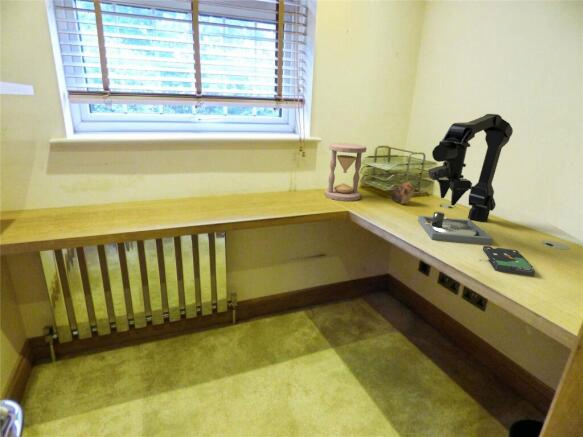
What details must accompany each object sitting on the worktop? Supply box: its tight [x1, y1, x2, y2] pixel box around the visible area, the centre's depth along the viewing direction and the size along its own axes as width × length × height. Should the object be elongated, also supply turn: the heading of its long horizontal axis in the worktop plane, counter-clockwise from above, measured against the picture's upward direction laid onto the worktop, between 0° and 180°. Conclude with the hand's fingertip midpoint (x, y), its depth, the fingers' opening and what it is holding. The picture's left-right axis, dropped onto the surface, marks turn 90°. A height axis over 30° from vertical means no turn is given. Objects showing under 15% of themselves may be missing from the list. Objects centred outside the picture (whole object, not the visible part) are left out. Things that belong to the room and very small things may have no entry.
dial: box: [429, 211, 477, 236], centre depth 128 cm, size 16×16×7 cm
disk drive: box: [482, 245, 536, 277], centre depth 107 cm, size 10×3×15 cm
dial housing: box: [417, 215, 493, 246], centre depth 129 cm, size 20×20×3 cm
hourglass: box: [324, 142, 367, 202], centre depth 168 cm, size 18×18×25 cm
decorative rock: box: [391, 180, 415, 205], centre depth 166 cm, size 12×6×11 cm, turn 16°
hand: (447, 201), depth 129 cm, fingers open, 9 cm apart
